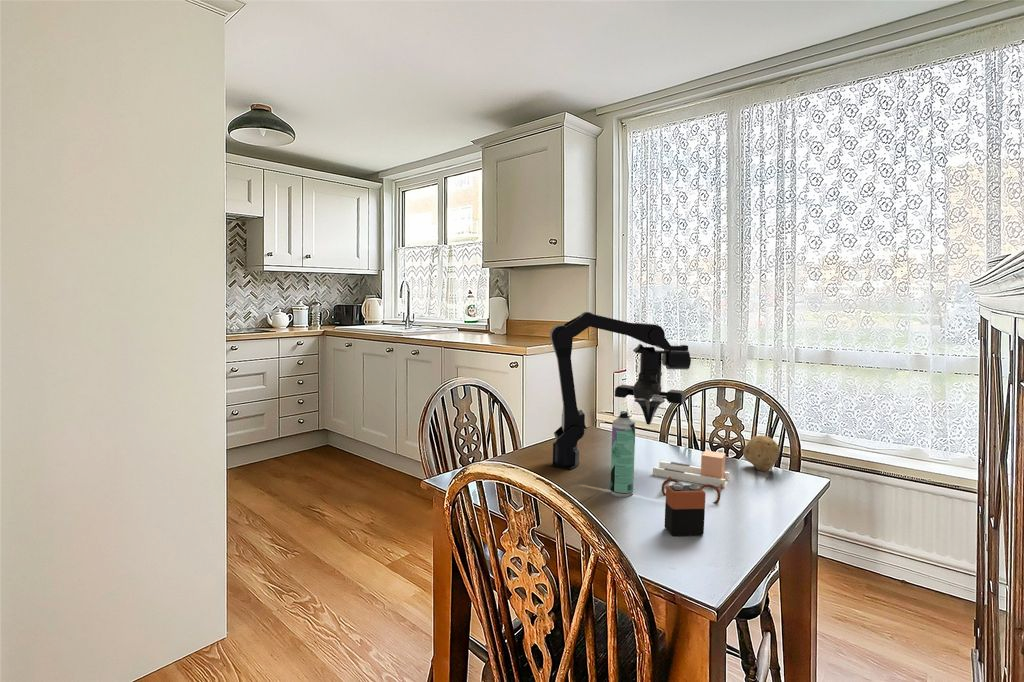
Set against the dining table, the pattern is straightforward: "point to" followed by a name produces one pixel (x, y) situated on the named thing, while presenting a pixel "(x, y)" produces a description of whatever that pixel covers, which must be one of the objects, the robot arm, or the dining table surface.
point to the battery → (684, 509)
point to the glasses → (700, 487)
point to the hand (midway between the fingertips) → (648, 424)
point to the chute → (687, 473)
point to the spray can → (622, 456)
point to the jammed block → (713, 464)
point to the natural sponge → (761, 452)
